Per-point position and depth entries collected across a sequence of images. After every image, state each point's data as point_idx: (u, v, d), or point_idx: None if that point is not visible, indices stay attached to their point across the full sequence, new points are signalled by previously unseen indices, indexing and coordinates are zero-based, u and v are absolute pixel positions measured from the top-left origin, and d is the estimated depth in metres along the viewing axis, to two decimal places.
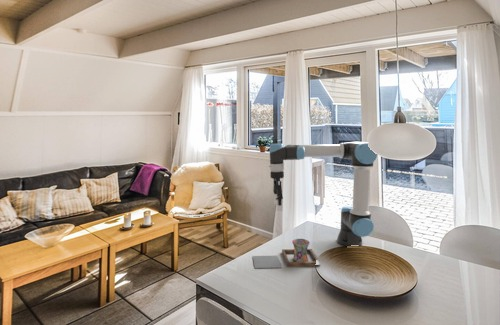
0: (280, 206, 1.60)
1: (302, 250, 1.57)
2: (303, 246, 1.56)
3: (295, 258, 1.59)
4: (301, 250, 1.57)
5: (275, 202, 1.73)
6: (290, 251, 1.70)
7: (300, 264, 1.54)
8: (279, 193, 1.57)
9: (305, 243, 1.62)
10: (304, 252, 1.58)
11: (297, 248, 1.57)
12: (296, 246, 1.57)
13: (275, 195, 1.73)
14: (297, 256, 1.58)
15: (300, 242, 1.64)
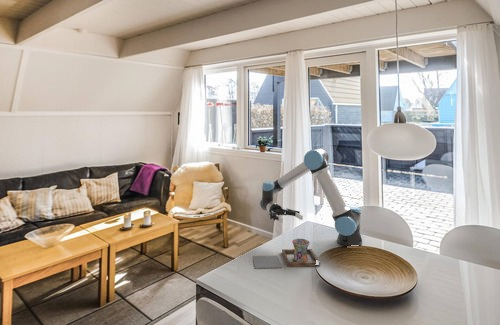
0: (279, 218, 1.68)
1: (302, 250, 1.57)
2: (303, 246, 1.56)
3: (295, 258, 1.59)
4: (301, 250, 1.57)
5: (300, 218, 1.73)
6: (290, 251, 1.70)
7: (300, 264, 1.54)
8: None
9: (305, 243, 1.62)
10: (304, 252, 1.58)
11: (297, 248, 1.57)
12: (296, 246, 1.57)
13: (296, 215, 1.77)
14: (297, 256, 1.58)
15: (300, 242, 1.64)
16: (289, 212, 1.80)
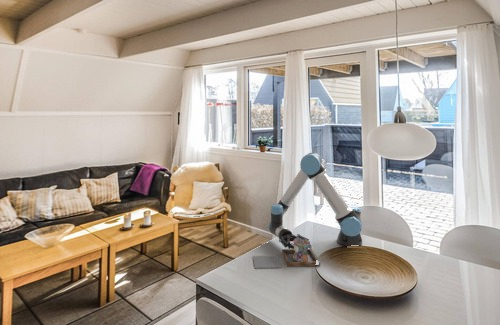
0: (294, 247, 1.58)
1: (303, 250, 1.57)
2: (304, 246, 1.56)
3: (295, 257, 1.59)
4: (302, 250, 1.57)
5: (309, 247, 1.60)
6: (290, 251, 1.70)
7: (300, 264, 1.54)
8: (283, 243, 1.64)
9: (306, 243, 1.62)
10: (304, 252, 1.58)
11: (298, 248, 1.57)
12: (297, 246, 1.57)
13: None
14: (297, 255, 1.58)
15: (301, 242, 1.64)
16: None
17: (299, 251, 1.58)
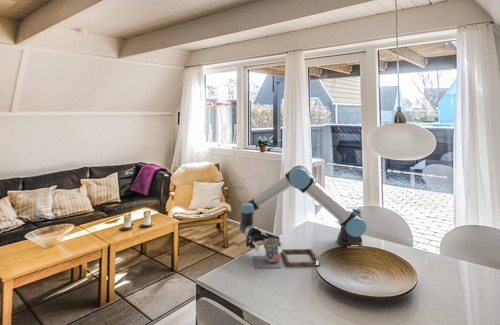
0: (255, 246, 1.54)
1: (272, 250, 1.55)
2: (273, 246, 1.54)
3: (266, 258, 1.57)
4: (271, 250, 1.55)
5: (278, 245, 1.58)
6: (290, 251, 1.70)
7: (300, 264, 1.54)
8: None
9: (275, 242, 1.60)
10: (275, 251, 1.56)
11: (267, 248, 1.55)
12: (266, 246, 1.55)
13: None
14: (268, 256, 1.56)
15: (271, 241, 1.62)
16: None
17: (269, 251, 1.55)
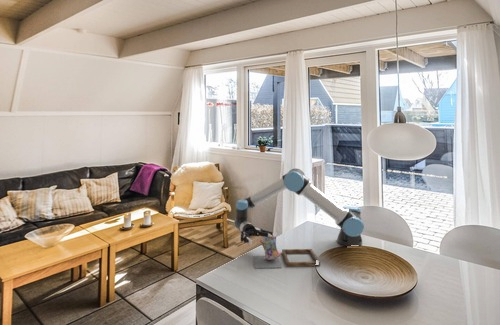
0: (249, 241, 1.60)
1: (271, 246, 1.57)
2: (271, 242, 1.56)
3: (267, 257, 1.57)
4: (270, 246, 1.57)
5: None
6: (290, 251, 1.70)
7: (300, 264, 1.54)
8: None
9: (273, 240, 1.62)
10: (273, 248, 1.57)
11: (265, 246, 1.57)
12: (264, 244, 1.57)
13: None
14: (268, 254, 1.57)
15: (268, 240, 1.64)
16: (262, 233, 1.72)
17: (268, 249, 1.57)
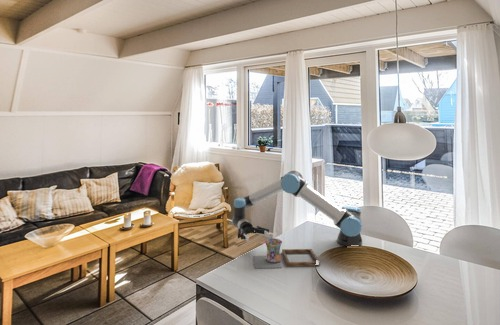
0: (245, 237, 1.66)
1: (275, 250, 1.56)
2: (276, 246, 1.55)
3: (268, 258, 1.57)
4: (274, 250, 1.56)
5: (268, 236, 1.70)
6: (290, 251, 1.70)
7: (300, 264, 1.54)
8: (238, 234, 1.72)
9: (277, 242, 1.61)
10: (277, 252, 1.57)
11: (270, 248, 1.56)
12: (269, 246, 1.55)
13: (264, 234, 1.74)
14: (270, 256, 1.57)
15: (272, 242, 1.62)
16: (258, 230, 1.77)
17: (272, 251, 1.56)
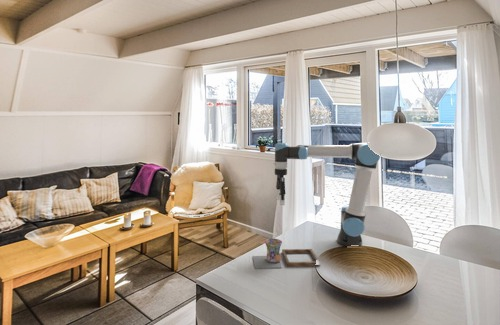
0: (282, 201, 1.73)
1: (275, 250, 1.56)
2: (276, 246, 1.55)
3: (268, 258, 1.57)
4: (274, 250, 1.56)
5: (277, 197, 1.87)
6: (290, 251, 1.70)
7: (300, 264, 1.54)
8: (282, 189, 1.71)
9: (277, 242, 1.61)
10: (277, 252, 1.57)
11: (270, 248, 1.56)
12: (269, 246, 1.56)
13: (278, 190, 1.86)
14: (270, 256, 1.57)
15: (272, 242, 1.62)
16: (280, 184, 1.84)
17: (272, 251, 1.56)
